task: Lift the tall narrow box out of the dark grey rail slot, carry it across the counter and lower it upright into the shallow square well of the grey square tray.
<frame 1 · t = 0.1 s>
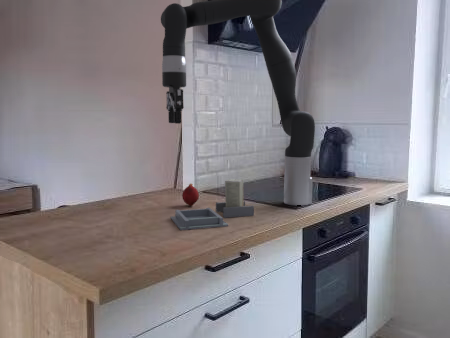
hand: (174, 123, 132), 29 cm above the countertop, fingers open, 8 cm apart
box: (234, 214, 134), on the countertop
grey square tray: (198, 222, 123), on the countertop
onion: (190, 206, 145), on the countertop
slot A: (234, 213, 134), on the countertop
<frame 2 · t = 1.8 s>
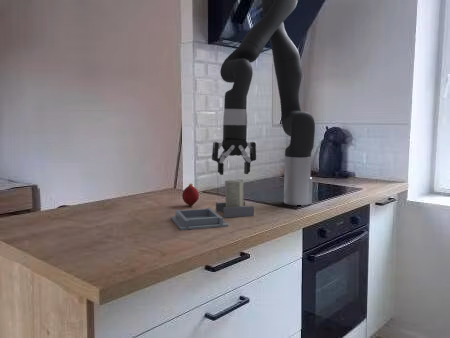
hand: (233, 174, 132), 13 cm above the countertop, fingers open, 8 cm apart
nothing on the countertop moved.
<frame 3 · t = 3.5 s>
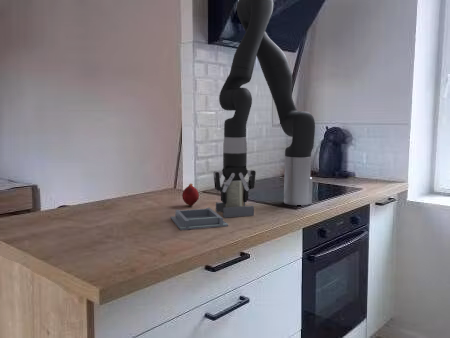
hand: (234, 202, 133), 4 cm above the countertop, fingers closed on box, 6 cm apart
box: (234, 214, 134), on the countertop, touching gripper
everything else where it was.
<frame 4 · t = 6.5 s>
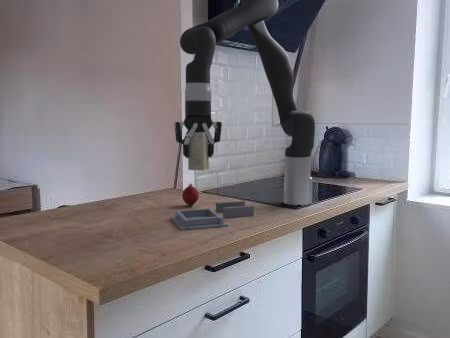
hand: (198, 157, 120), 20 cm above the countertop, fingers closed on box, 6 cm apart
box: (198, 170, 121), point 16 cm above the countertop, touching gripper
everything else where it was.
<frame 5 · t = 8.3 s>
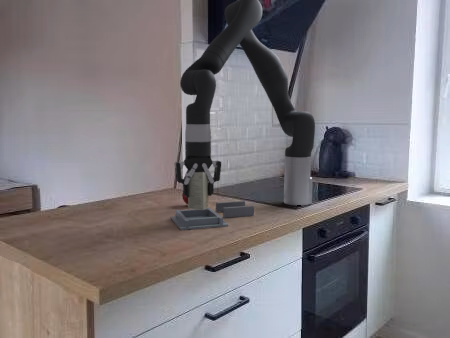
hand: (198, 195, 122), 8 cm above the countertop, fingers closed on box, 6 cm apart
box: (198, 208, 123), point 4 cm above the countertop, touching gripper
everything else where it was.
when the fingers open (6 cm above the countertop, at t = 9.7 s): box drops 1 cm, resting on grey square tray.
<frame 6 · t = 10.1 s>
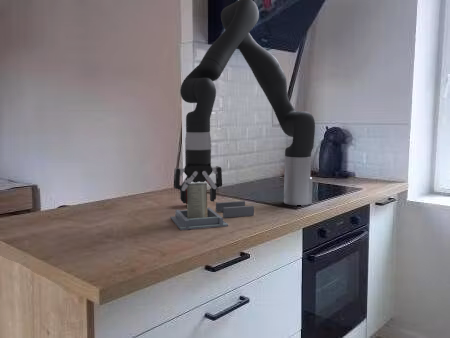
hand: (198, 202, 122), 6 cm above the countertop, fingers open, 8 cm apart
box: (197, 220, 123), resting on grey square tray
everything else where it was.
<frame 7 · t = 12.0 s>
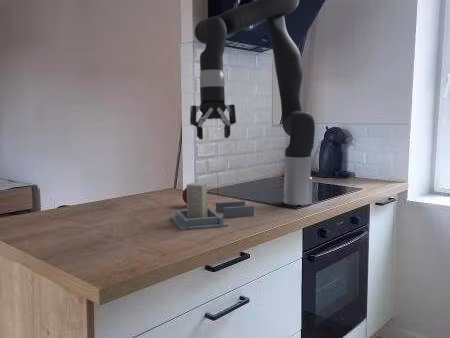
hand: (213, 138, 128), 25 cm above the countertop, fingers open, 8 cm apart
nothing on the countertop moved.
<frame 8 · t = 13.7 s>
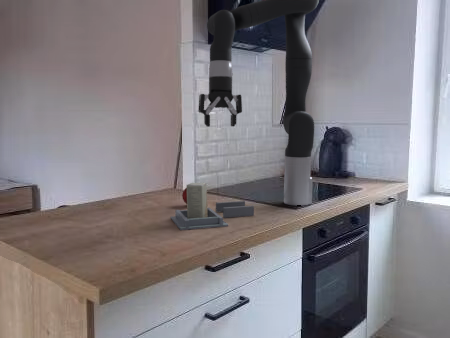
hand: (220, 126, 135), 28 cm above the countertop, fingers open, 8 cm apart
nothing on the countertop moved.
at the end: box inside the target area on the grey square tray (0.4 cm from its centre), point 0.3 cm above the grey square tray's base; box tilted 0°; the gripper is holding nothing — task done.
